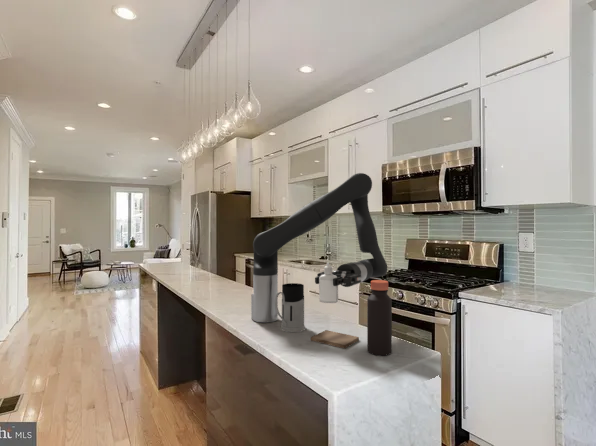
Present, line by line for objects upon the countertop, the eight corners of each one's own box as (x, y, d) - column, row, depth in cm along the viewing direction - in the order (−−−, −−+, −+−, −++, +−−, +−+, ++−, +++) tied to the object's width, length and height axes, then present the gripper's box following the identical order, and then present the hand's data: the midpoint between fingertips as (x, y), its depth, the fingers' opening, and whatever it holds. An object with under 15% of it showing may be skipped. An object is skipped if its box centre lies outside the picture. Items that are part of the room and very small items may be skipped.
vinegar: (362, 352, 97) (362, 281, 97) (375, 345, 102) (375, 278, 102) (384, 358, 93) (384, 284, 93) (396, 351, 98) (396, 281, 98)
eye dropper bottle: (330, 305, 100) (330, 264, 100) (317, 301, 105) (316, 262, 104) (340, 302, 103) (339, 262, 103) (327, 298, 108) (326, 260, 107)
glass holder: (310, 327, 121) (310, 284, 121) (286, 338, 109) (286, 290, 109) (289, 323, 126) (289, 282, 126) (265, 333, 114) (265, 288, 114)
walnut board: (310, 340, 107) (310, 337, 107) (326, 333, 114) (326, 330, 114) (344, 348, 100) (344, 345, 100) (358, 340, 107) (358, 337, 107)
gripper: (333, 261, 120) (305, 267, 106) (371, 263, 111) (346, 270, 98) (333, 282, 120) (305, 291, 107) (371, 286, 111) (346, 296, 98)
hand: (325, 281), depth 102 cm, fingers closed on eye dropper bottle, 5 cm apart
